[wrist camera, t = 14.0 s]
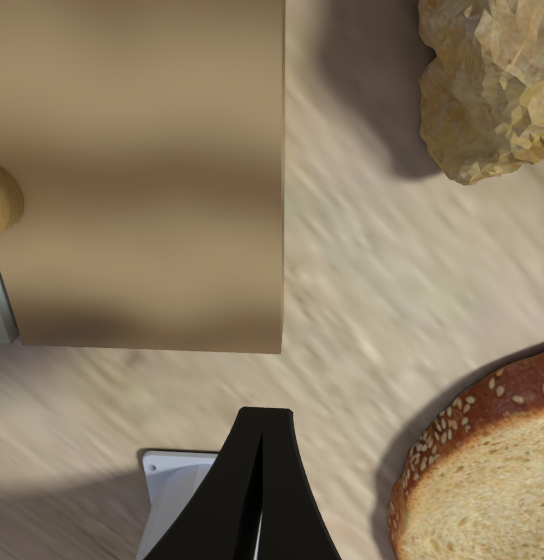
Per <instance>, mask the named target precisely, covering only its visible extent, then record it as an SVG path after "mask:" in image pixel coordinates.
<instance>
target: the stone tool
mask: <svg viewBox="0 0 544 560" xmlns="http://www.w3.org/2000/svg"><path fill="white" fill-rule="evenodd" d="M418 12H419V28H418V33H419V34H420V36H421V38H422V40H423V42H424V44H425V45H427V46H429V47H431V48H432V49H434V50H435V52H436V55H437V57H436V58H435V59H434V60H433V61H432V62H430V63H429V64H428V65H427V66H426V68H425V69H424V71H423V74H422V75H421V77H420V79H419V81H418V82H419V85H420V89H421V101H420V112H421V123H420V126H419V135H420V136H421V138H422V139H423V140H424V141H425V143H426V145H427V151H428V154H429V155H430V156H431V157H432V158H433V159H434V160H435V162H436V164H437V165H438V166H439V167H440V168H441V169H442V170H443V172H444V173H445V174H446V176H447V177H448V178H449V179H450V180H455V181H456V182H458V183H461V184H463V185H473V184H476V183H477V182H479V181H480V180H482V179H484V178H487V177H493V176H501V175H502V174H506V173H512V172H514V171H516V170H518V169H519V168H520V166H521V165H522V164H524V163H527V162H528V163H530V164H531V165H535V164H537V163H538V162H540V161H542V160H543V159H544V0H419V3H418Z"/></svg>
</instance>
